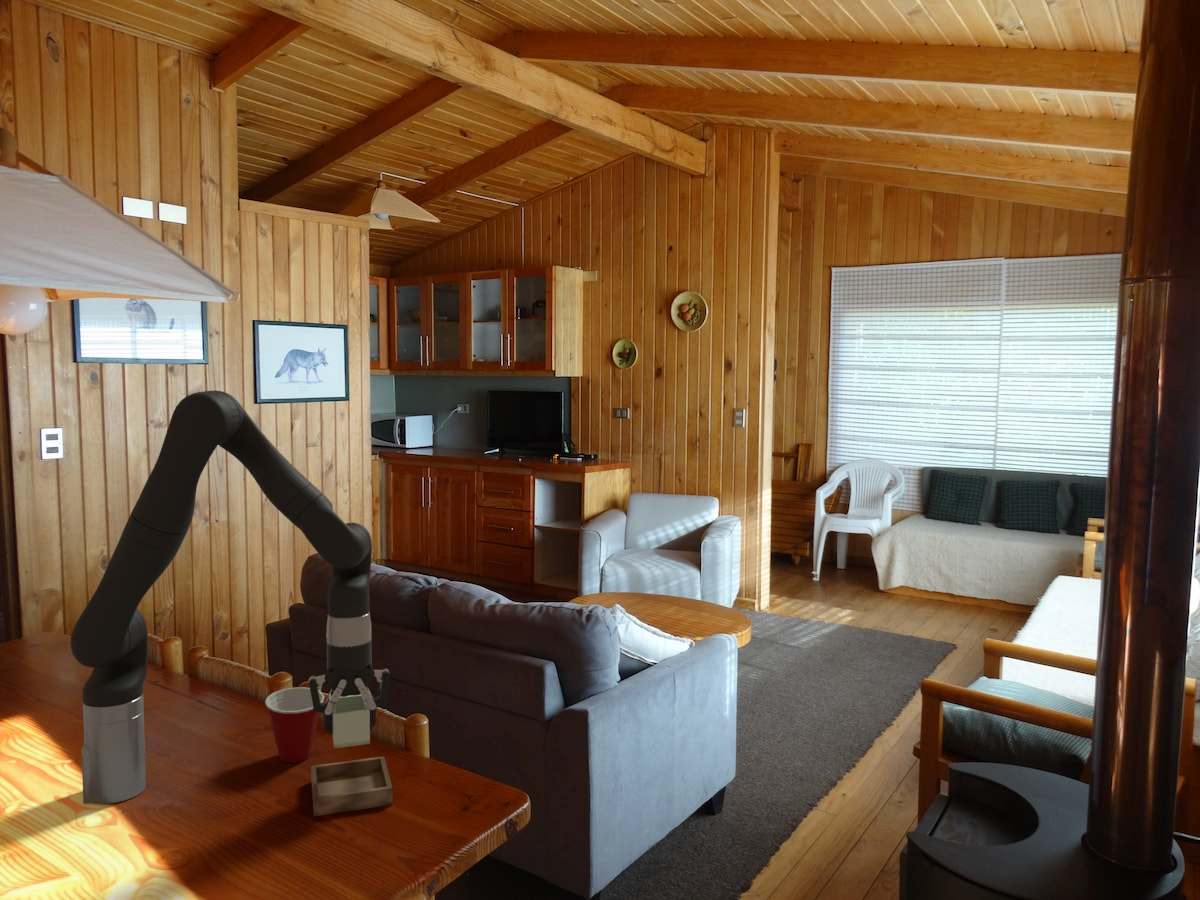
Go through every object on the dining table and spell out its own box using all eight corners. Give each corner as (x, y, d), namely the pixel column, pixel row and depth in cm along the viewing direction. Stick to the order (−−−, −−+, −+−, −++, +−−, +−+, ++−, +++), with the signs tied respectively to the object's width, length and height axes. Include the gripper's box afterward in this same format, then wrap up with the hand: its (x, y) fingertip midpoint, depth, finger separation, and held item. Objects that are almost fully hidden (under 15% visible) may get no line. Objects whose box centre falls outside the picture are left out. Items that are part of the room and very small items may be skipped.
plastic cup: (280, 775, 161) (279, 712, 160) (256, 756, 168) (255, 696, 167) (335, 757, 168) (334, 697, 167) (309, 740, 176) (308, 682, 175)
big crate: (313, 816, 146) (313, 799, 146) (311, 781, 158) (311, 765, 158) (392, 804, 151) (392, 787, 151) (384, 771, 163) (384, 756, 163)
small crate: (333, 748, 149) (333, 714, 148) (331, 729, 156) (331, 697, 156) (369, 743, 151) (369, 710, 150) (365, 725, 158) (365, 693, 158)
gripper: (306, 648, 146) (308, 744, 148) (393, 640, 151) (394, 733, 152) (305, 635, 153) (306, 727, 155) (388, 628, 158) (389, 717, 160)
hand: (350, 730), depth 154 cm, fingers closed on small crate, 6 cm apart
